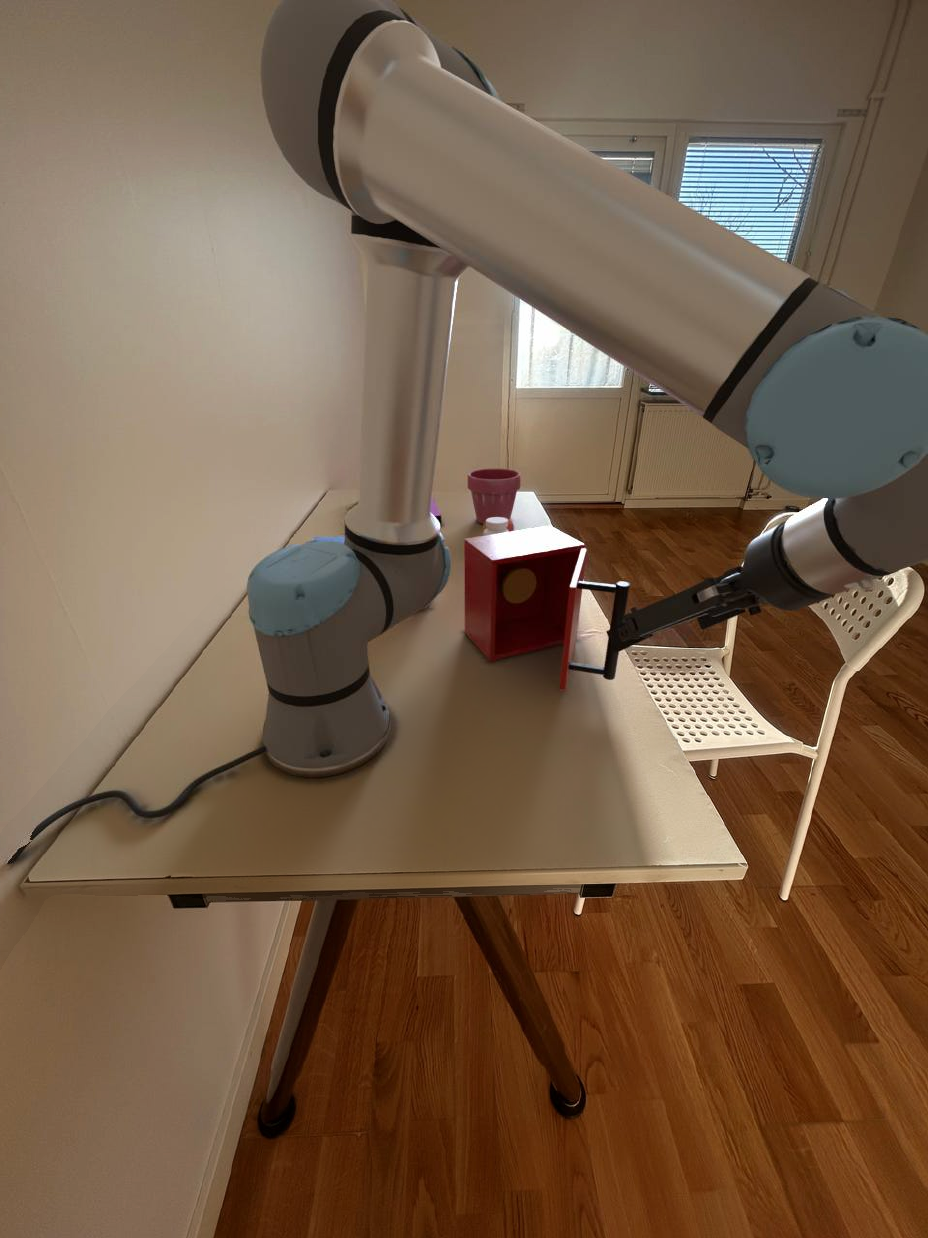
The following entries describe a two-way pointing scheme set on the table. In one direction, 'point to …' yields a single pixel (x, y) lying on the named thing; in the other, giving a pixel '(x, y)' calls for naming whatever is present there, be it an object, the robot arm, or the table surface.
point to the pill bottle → (496, 526)
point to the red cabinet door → (573, 618)
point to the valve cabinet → (518, 589)
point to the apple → (509, 527)
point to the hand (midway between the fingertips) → (657, 630)
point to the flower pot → (493, 492)
